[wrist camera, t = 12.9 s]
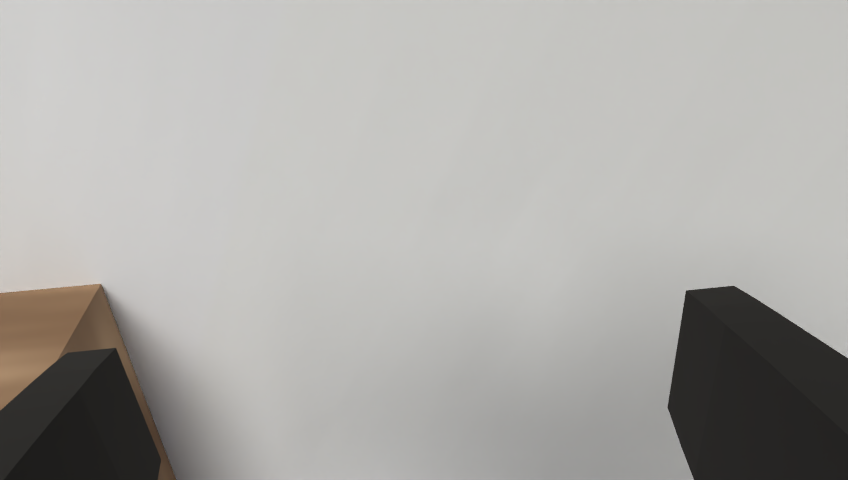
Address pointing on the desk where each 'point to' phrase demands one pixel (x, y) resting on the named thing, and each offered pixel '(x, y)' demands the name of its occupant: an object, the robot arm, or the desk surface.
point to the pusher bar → (61, 341)
